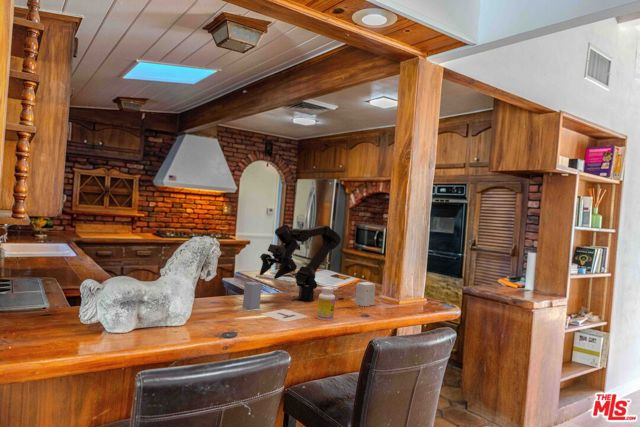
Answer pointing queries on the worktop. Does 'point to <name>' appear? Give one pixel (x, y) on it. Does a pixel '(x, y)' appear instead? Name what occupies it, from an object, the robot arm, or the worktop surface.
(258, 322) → the worktop surface
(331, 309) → the supplement bottle
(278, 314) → the pad
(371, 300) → the small box
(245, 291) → the gray block
